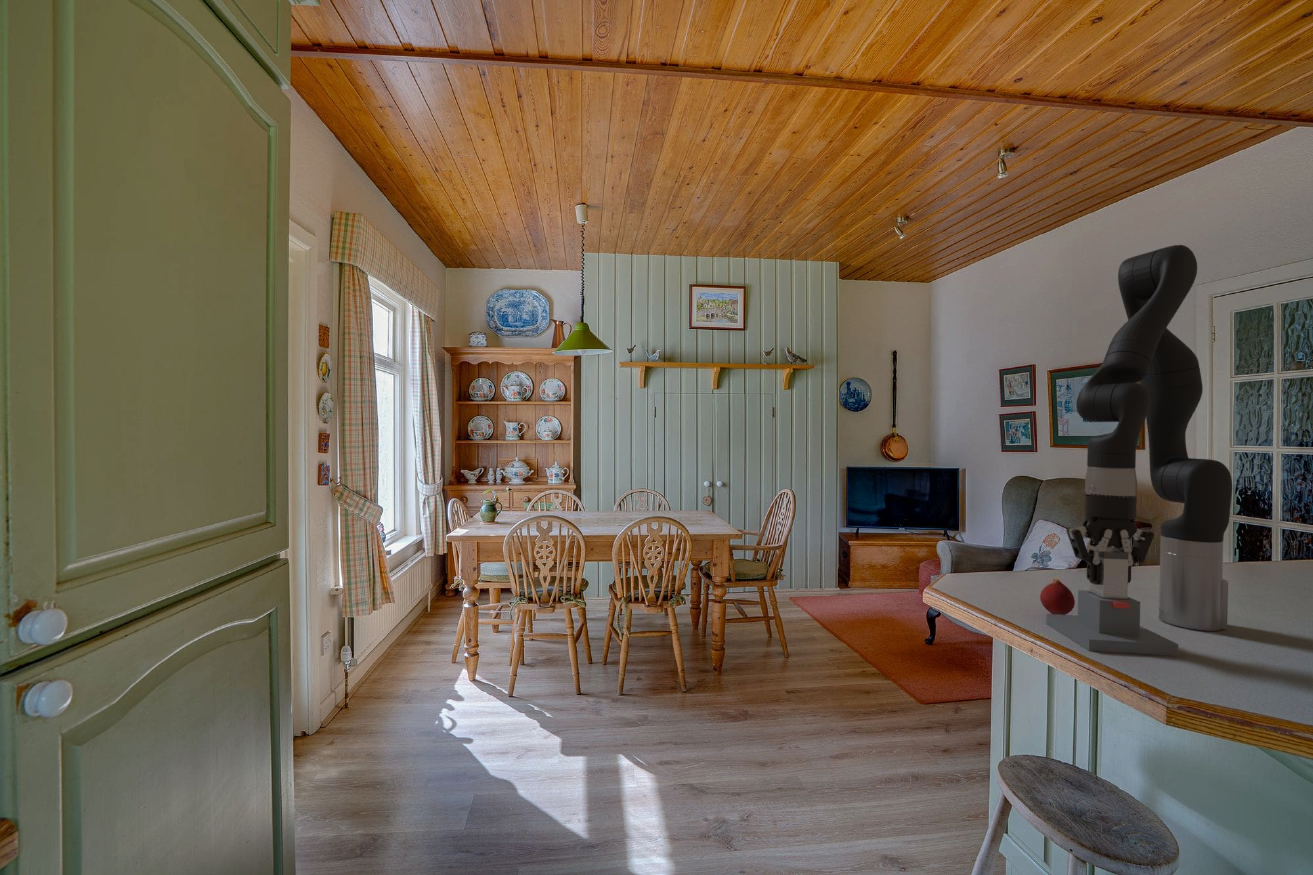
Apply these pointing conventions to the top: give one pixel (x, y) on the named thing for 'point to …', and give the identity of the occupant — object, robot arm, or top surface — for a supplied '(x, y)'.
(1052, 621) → the stand
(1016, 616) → the top surface
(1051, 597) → the onion
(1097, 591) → the column
